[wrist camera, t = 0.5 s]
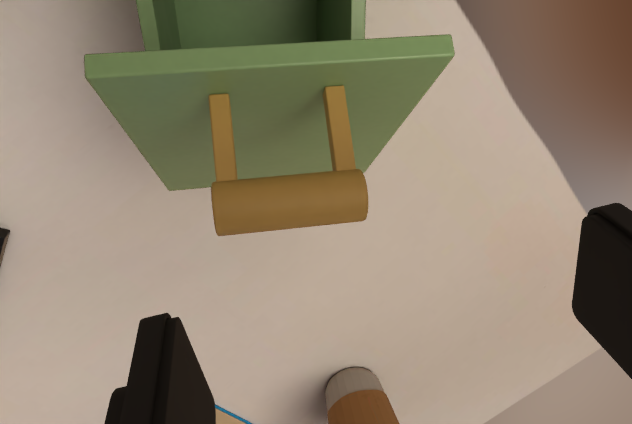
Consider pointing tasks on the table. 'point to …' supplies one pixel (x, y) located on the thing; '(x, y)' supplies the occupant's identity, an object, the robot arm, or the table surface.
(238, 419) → the book
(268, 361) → the table surface
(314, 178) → the lid
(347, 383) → the coffee cup
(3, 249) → the button housing
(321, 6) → the chest
